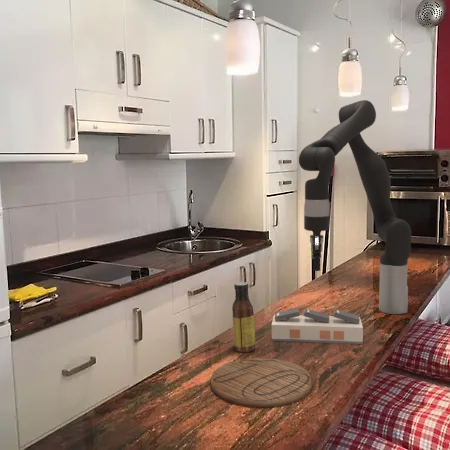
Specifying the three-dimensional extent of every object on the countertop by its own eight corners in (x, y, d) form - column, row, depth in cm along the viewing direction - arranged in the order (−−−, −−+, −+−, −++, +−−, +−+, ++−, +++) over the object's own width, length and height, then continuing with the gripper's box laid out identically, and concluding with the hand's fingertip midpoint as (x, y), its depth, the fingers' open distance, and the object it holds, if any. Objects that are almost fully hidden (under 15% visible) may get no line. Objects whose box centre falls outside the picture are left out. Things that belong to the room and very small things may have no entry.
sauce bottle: (257, 346, 154) (256, 281, 152) (252, 354, 148) (250, 286, 146) (236, 344, 156) (235, 280, 154) (230, 351, 151) (228, 285, 148)
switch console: (359, 332, 164) (359, 317, 164) (362, 344, 154) (363, 328, 154) (274, 329, 169) (274, 314, 168) (271, 340, 159) (271, 325, 158)
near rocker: (357, 321, 161) (358, 315, 161) (358, 325, 157) (359, 319, 157) (332, 314, 162) (334, 308, 162) (333, 318, 158) (335, 312, 158)
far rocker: (300, 313, 164) (298, 307, 163) (299, 317, 160) (298, 311, 159) (276, 318, 165) (275, 313, 165) (276, 322, 161) (274, 317, 161)
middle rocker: (327, 320, 162) (329, 314, 162) (327, 324, 158) (329, 318, 158) (303, 313, 163) (305, 307, 163) (303, 317, 159) (305, 311, 159)
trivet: (190, 385, 130) (190, 378, 130) (257, 357, 147) (257, 350, 147) (265, 420, 112) (265, 412, 112) (331, 383, 130) (331, 376, 129)
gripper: (330, 216, 149) (329, 275, 152) (328, 211, 162) (328, 265, 165) (303, 216, 151) (303, 275, 153) (304, 211, 163) (304, 265, 166)
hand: (316, 270), depth 159 cm, fingers closed
